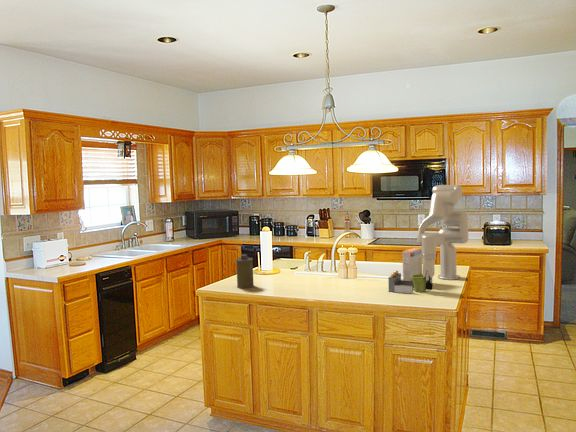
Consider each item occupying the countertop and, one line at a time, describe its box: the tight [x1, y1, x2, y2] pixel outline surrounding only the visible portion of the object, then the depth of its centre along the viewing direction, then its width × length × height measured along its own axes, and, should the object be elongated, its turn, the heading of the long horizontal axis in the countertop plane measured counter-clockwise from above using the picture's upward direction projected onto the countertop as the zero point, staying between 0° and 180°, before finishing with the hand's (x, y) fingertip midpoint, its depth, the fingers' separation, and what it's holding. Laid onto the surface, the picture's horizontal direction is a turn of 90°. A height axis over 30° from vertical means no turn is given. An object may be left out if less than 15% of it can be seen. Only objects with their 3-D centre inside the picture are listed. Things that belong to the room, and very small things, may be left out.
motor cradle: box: [387, 270, 414, 295], centre depth 269 cm, size 15×14×10 cm
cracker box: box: [401, 247, 423, 281], centre depth 283 cm, size 14×6×21 cm, turn 137°
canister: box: [235, 254, 255, 289], centre depth 292 cm, size 11×10×20 cm
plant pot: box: [411, 273, 427, 293], centre depth 265 cm, size 9×9×9 cm
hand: (429, 289), depth 263 cm, fingers closed
